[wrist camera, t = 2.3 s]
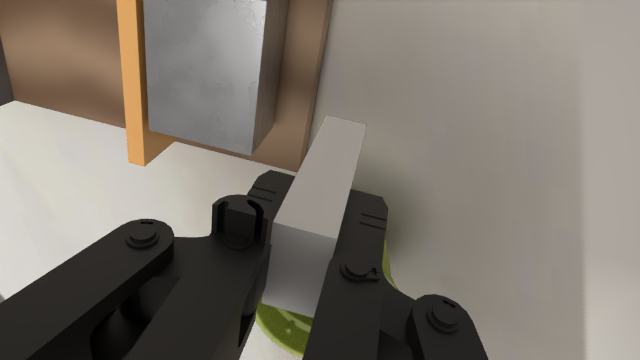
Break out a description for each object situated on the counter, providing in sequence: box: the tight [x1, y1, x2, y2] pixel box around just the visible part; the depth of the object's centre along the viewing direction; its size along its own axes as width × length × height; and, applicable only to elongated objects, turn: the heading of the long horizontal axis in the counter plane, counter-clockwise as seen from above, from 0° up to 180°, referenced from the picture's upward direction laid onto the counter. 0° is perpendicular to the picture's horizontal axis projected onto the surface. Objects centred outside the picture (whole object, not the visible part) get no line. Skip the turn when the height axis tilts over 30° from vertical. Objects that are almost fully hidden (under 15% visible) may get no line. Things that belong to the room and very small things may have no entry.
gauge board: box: [0, 0, 333, 172], centre depth 25 cm, size 14×24×6 cm, turn 80°
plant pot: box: [255, 237, 398, 358], centre depth 29 cm, size 9×9×9 cm
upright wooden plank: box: [116, 0, 177, 167], centre depth 23 cm, size 13×1×4 cm, turn 170°
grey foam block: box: [143, 0, 288, 156], centre depth 23 cm, size 8×6×4 cm
